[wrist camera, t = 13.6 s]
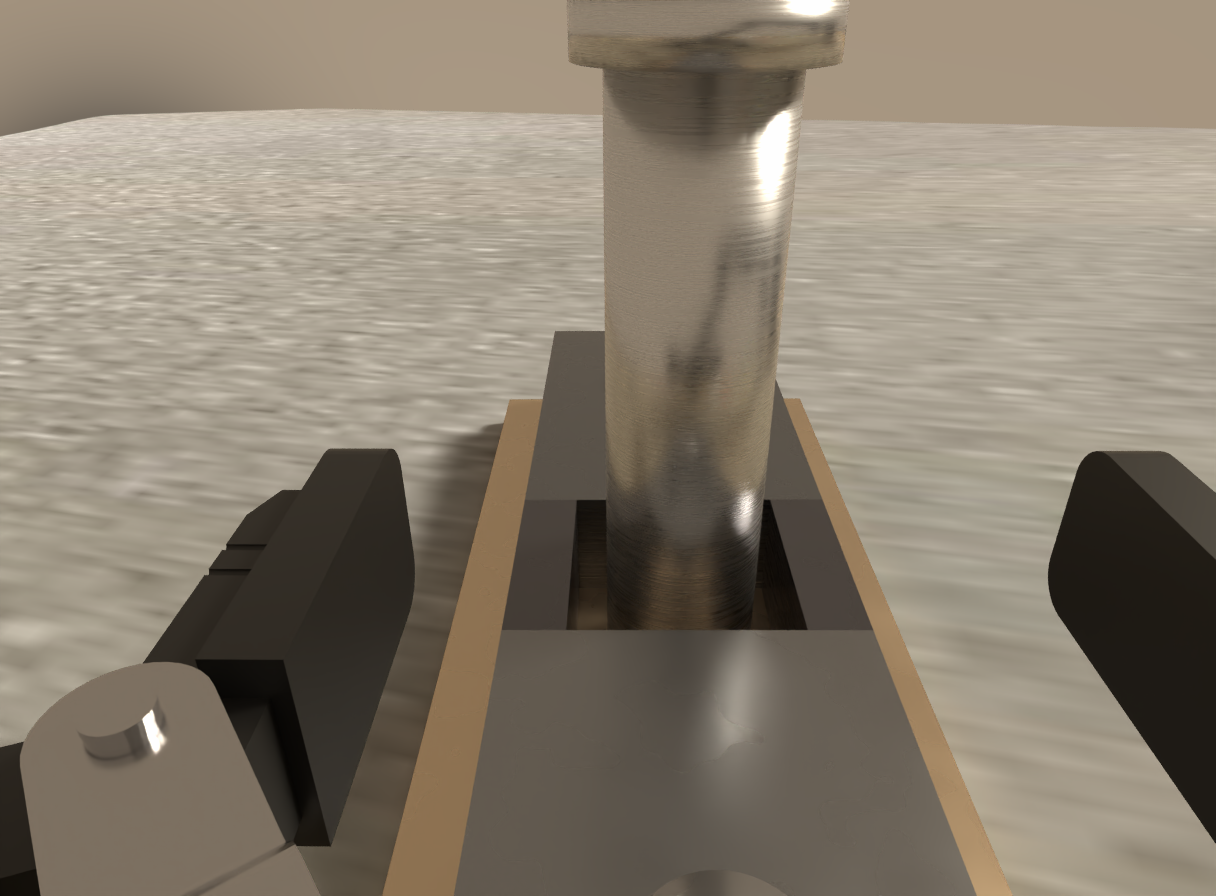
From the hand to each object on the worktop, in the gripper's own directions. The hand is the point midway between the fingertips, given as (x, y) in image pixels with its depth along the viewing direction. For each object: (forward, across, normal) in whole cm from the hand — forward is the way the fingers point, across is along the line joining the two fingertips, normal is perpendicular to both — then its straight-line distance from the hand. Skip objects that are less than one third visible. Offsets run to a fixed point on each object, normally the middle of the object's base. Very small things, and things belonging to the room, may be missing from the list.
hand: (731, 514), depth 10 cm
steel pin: (+8, 0, +10) cm, 13 cm away
